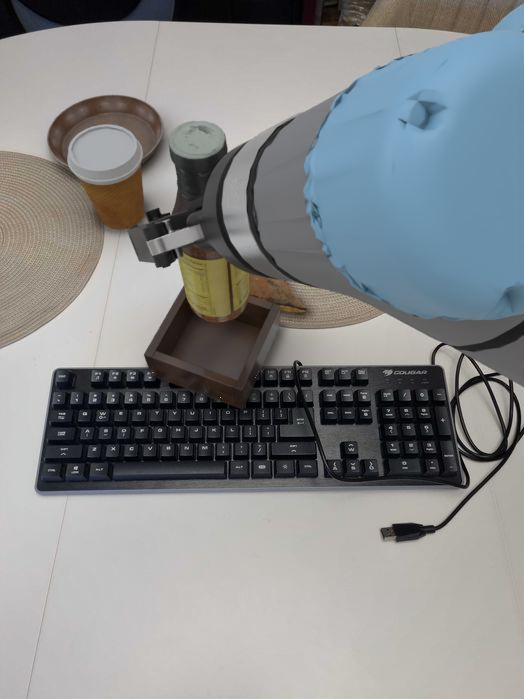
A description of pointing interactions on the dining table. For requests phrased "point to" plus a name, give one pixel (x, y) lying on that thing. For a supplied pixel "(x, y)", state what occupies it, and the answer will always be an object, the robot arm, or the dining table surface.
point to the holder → (214, 349)
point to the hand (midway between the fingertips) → (194, 218)
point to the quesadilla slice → (275, 293)
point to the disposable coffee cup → (110, 173)
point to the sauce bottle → (196, 265)
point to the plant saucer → (106, 122)
